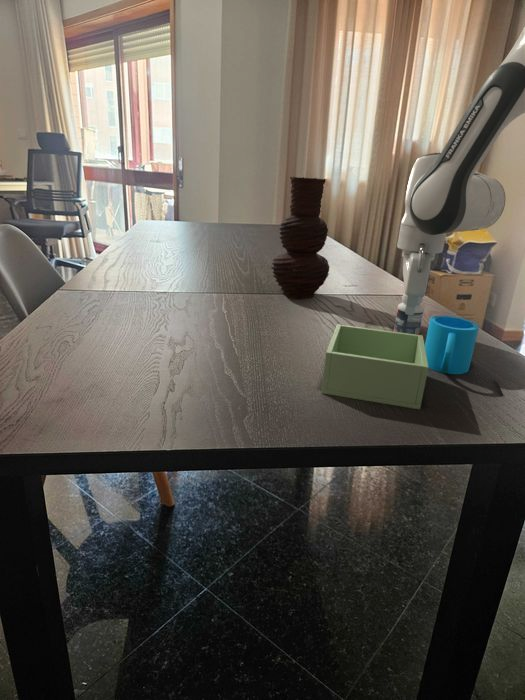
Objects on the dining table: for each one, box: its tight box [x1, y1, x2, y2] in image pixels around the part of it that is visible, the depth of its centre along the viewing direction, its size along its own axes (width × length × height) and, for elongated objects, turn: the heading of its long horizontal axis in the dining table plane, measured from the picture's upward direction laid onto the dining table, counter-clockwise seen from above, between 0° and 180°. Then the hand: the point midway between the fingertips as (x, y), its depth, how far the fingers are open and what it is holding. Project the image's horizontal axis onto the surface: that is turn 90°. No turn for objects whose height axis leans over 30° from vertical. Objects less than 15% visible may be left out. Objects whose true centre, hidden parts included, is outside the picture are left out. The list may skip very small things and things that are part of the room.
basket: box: [321, 323, 429, 410], centre depth 76 cm, size 15×15×7 cm
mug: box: [424, 315, 480, 375], centre depth 83 cm, size 12×8×8 cm
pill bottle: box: [393, 292, 424, 335], centre depth 99 cm, size 5×5×9 cm
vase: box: [270, 176, 330, 300], centre depth 122 cm, size 15×15×30 cm
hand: (408, 307), depth 98 cm, fingers open, 8 cm apart
